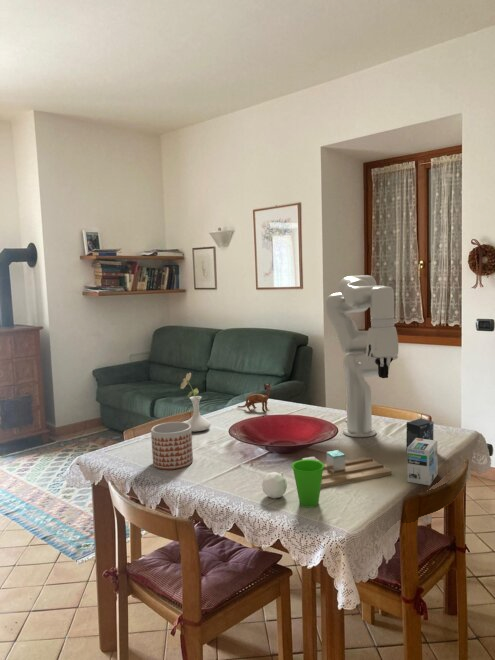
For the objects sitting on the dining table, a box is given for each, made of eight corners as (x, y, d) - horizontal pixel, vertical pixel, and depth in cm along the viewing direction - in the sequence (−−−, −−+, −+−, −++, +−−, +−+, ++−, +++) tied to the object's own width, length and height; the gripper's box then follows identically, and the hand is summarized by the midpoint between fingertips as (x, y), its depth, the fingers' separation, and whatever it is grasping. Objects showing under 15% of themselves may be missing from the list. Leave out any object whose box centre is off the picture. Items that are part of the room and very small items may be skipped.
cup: (290, 497, 149) (288, 460, 148) (321, 495, 150) (320, 458, 149) (295, 511, 140) (294, 472, 139) (328, 509, 141) (327, 469, 140)
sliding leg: (327, 469, 166) (326, 451, 165) (338, 467, 167) (337, 450, 166) (333, 474, 161) (333, 456, 161) (345, 472, 163) (345, 454, 162)
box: (419, 455, 178) (419, 425, 177) (406, 451, 183) (405, 421, 182) (434, 450, 182) (434, 421, 181) (420, 446, 187) (420, 417, 186)
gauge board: (296, 472, 168) (295, 453, 167) (367, 460, 176) (367, 442, 175) (315, 488, 154) (315, 468, 154) (391, 474, 163) (391, 455, 162)
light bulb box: (430, 486, 153) (429, 450, 152) (406, 482, 156) (406, 447, 155) (438, 473, 162) (438, 440, 161) (416, 470, 165) (415, 437, 164)
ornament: (264, 490, 155) (279, 467, 155) (281, 505, 150) (297, 482, 151) (252, 486, 150) (268, 462, 150) (270, 502, 145) (286, 477, 145)
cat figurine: (234, 410, 247) (233, 382, 245) (240, 407, 253) (239, 379, 251) (269, 413, 239) (268, 384, 238) (275, 410, 245) (273, 381, 243)
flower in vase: (196, 424, 227) (193, 367, 224) (216, 428, 220) (213, 369, 218) (175, 432, 216) (171, 373, 214) (195, 436, 210) (192, 375, 207)
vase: (177, 453, 191) (175, 419, 190) (201, 461, 181) (199, 426, 180) (145, 464, 181) (143, 428, 180) (168, 473, 172) (166, 435, 170)
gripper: (395, 321, 181) (395, 373, 183) (357, 324, 177) (358, 377, 179) (408, 322, 174) (408, 377, 176) (369, 326, 170) (370, 381, 171)
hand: (383, 377), depth 177 cm, fingers closed
